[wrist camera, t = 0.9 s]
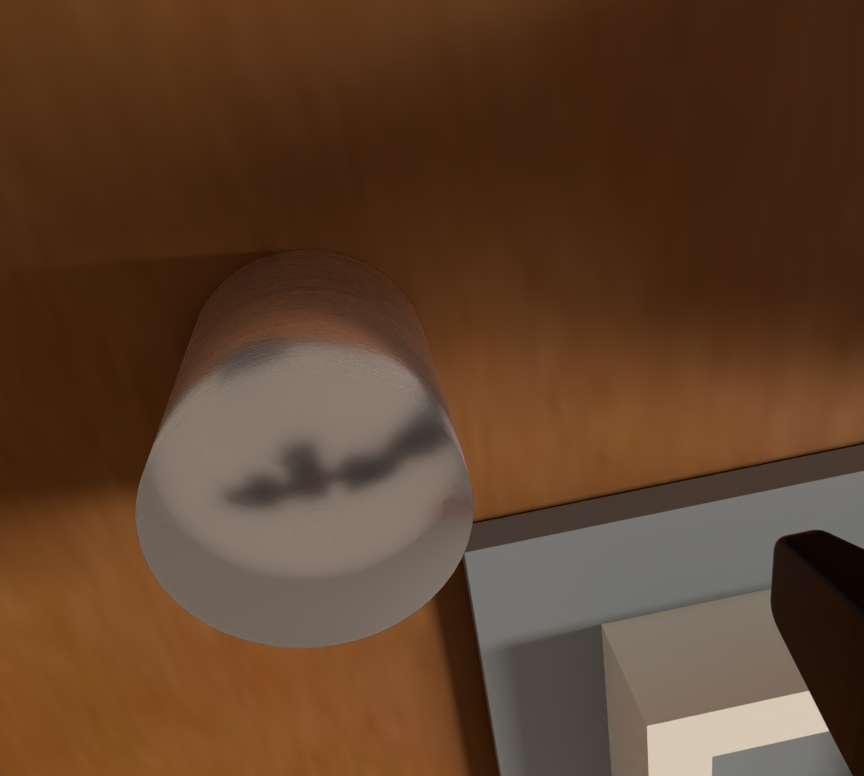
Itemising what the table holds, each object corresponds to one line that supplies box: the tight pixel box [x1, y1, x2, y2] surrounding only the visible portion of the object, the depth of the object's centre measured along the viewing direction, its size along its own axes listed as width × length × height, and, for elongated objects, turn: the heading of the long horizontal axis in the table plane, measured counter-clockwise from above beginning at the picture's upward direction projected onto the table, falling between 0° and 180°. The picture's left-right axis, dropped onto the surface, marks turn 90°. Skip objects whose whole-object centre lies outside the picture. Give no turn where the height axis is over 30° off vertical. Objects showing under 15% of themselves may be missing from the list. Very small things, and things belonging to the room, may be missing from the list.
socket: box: [462, 444, 864, 776], centre depth 18 cm, size 14×14×3 cm
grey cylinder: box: [136, 249, 474, 648], centre depth 12 cm, size 4×4×5 cm
